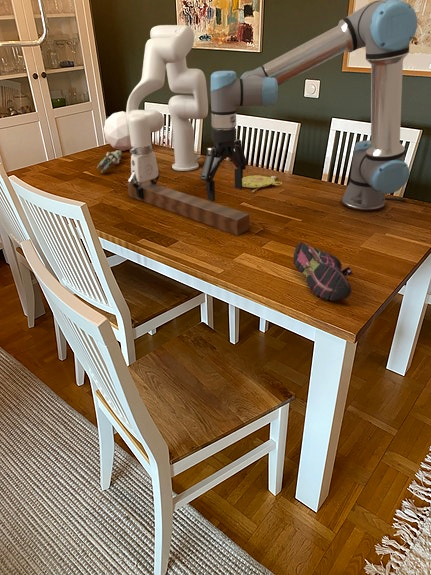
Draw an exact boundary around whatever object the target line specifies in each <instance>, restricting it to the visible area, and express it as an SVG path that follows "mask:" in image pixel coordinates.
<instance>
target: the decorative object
mask: <svg viewBox="0 0 431 575" xmlns="http://www.w3.org/2000/svg"><path fill="white" fill-rule="evenodd" d="M277 177H278V176H275V175H271V176H264V175H260V174H254V175H246V176H243V178H242V188H248V189H253V190H251V193H255V192H256V191H257V190H258V189H260V188H265V187H269V186H271V185H272V186H282V185H283V182H281V181H276V180H277V179H278V178H277Z"/></svg>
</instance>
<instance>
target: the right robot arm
mask: <svg viewBox="0 0 431 575" xmlns="http://www.w3.org/2000/svg"><path fill="white" fill-rule="evenodd" d="M417 29H418V16H417V13H416V10H415V8H414V7H413V6H412V5H411V4H410V3H408V2H406V1H403V0H374V1H371V2H369V3H367V4H365V5H364V6H362V7H361V8H359V9H357V10H356V11H354V12H352V13H350V14H349V15H347V16H345V17H344V18H342V19H339V22H338V24H337V26H335V27H332V28H331V29H328V30H327V31H325V32H323V33H321V34H319V35H316V37H313V38H312V39H309V40H308V41H305V42H304V43H302V44H300V45H298V46H296V47H295V48H293V49H291V50H289V51H287V52H285V53H283V54H281V55H280V56H278V57H275V58H274V59H272V60H270V61H268V62H266V63H264V64H262V65H261V66H259V67H257V68H255V69H253V70H247V71H245V72H244V73H243V74H242V75H241V76H240V78H239V77H237V72H236V71H234V70H217V71H214V72H212V73H211V75H210V109H211V113H210V114H211V116H210V117H211V127H212V129H211V140H212V142H213V143H214V144H213V147H208V146H207V147H206V155H205V159H204V161H203V162H204V163H203V167H202V169H201V173H200V177H199V179H200V180H201V181H204V182H205V190H206V200H207V201H210V202H215V201H216V184H215V180H214V178H215V176H216V173H217V171H218V169H219V167H220V165H221V163H223V161H224V160H226V159H230V160H231V161H230V162H232V164H233V166H234V167H235V168H234V189H237V190H243V186H242V178H243V177H244V171H245V170H246V169H247V166H248V161H247V158H246V155H245V152H244V149H243V145H242V140H241V139H239V138H237V128H236V126H237V107H255V106H256V107H258V106H259V107H261V106H264V107H266V106H273V105H275V104H276V103H277V100H278V95H279V86H280V85H282V84H285V83H286V82H288V81H290V80H292V79H295V78H297V77H298V76H300V75H303V74H304V73H306V72H308V71H310V70H311V69H314V68H316V67H317V66H319V65H322V64H324V63H325V62H327V61H329V60H331V59H333V58H335V57H337V56H339V55H341V54H343V53H345V52H348V53H352V52H355V51H356V50H359V49H363V48H365V60H366V61H367V62H368V63H369V64H370V139H369V140H368V139H366V140H359V141H357V142H356V143H355V144H354V147H353V148H354V149H353V154H352V155H353V156H352V163H351V169H350V177H349V183H348V184H347V187H346V189H345V192H344V194H343V196H342V199H341V205H343V206H344V207H345V208H347V209H350V210H352V211H356V212H363V213H364V212H367V213H368V212H377V211H380V210H382V209H384V207H385V204H386V202H404V203H406V201H407V199H406V198H395V197H394V198H393V197H385V195H390V194H394V193H397V192H399V191H400V190H401V189H402V188H403V187H404V186H405V185H406V184H407V182H408V180H409V178H410V174H411V173H410V168H409V166H408V164H407V162H405V153H406V148H405V146H404V145H403V144H402V143H401V125H402V124H401V123H402V122H401V121H402V95H403V94H402V93H403V70H404V60H405V58H406V57H407V56H408V54H410V46H411V41H412V40H413V38H414V37H415V35H416V32H417Z"/></svg>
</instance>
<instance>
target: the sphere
mask: <svg viewBox="0 0 431 575" xmlns="http://www.w3.org/2000/svg"><path fill="white" fill-rule="evenodd" d="M103 134H104V138H105V141H106V142H107V143H108V144H109V145H110V146H111V147H112V148H113V149H115V150H118V151H119V150H120V151H121V152H125V151H128V150H131V149H132V148H131V140H130V132H129V127H128V126H127V123H126V111H123V110H122V111H118V112H117V111H116V112H113V113H112V114H111V115H110V116H108V117H107V118H106V119H105V121H104V126H103Z"/></svg>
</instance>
